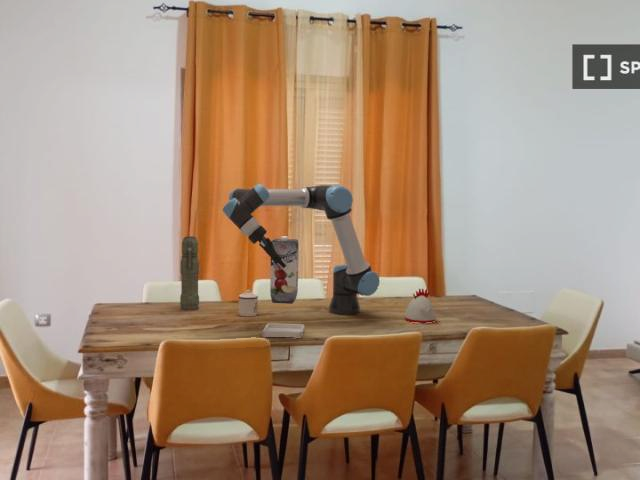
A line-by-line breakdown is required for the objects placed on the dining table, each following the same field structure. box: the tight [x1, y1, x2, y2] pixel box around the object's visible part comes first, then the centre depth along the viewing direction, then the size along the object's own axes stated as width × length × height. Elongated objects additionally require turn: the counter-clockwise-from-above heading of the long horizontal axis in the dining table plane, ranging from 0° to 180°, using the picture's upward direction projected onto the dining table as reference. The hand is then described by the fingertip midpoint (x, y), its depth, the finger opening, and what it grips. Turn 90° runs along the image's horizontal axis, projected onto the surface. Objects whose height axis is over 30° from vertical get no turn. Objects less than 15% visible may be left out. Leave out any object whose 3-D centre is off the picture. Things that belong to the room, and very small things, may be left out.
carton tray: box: [262, 322, 305, 338], centre depth 252 cm, size 16×15×2 cm
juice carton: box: [269, 235, 299, 305], centre depth 250 cm, size 9×10×27 cm
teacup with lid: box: [238, 289, 259, 318], centre depth 289 cm, size 12×9×12 cm
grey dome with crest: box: [404, 288, 437, 323], centre depth 282 cm, size 14×14×15 cm
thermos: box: [179, 236, 200, 311], centre depth 297 cm, size 9×12×35 cm
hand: (292, 271), depth 250 cm, fingers closed on juice carton, 9 cm apart
